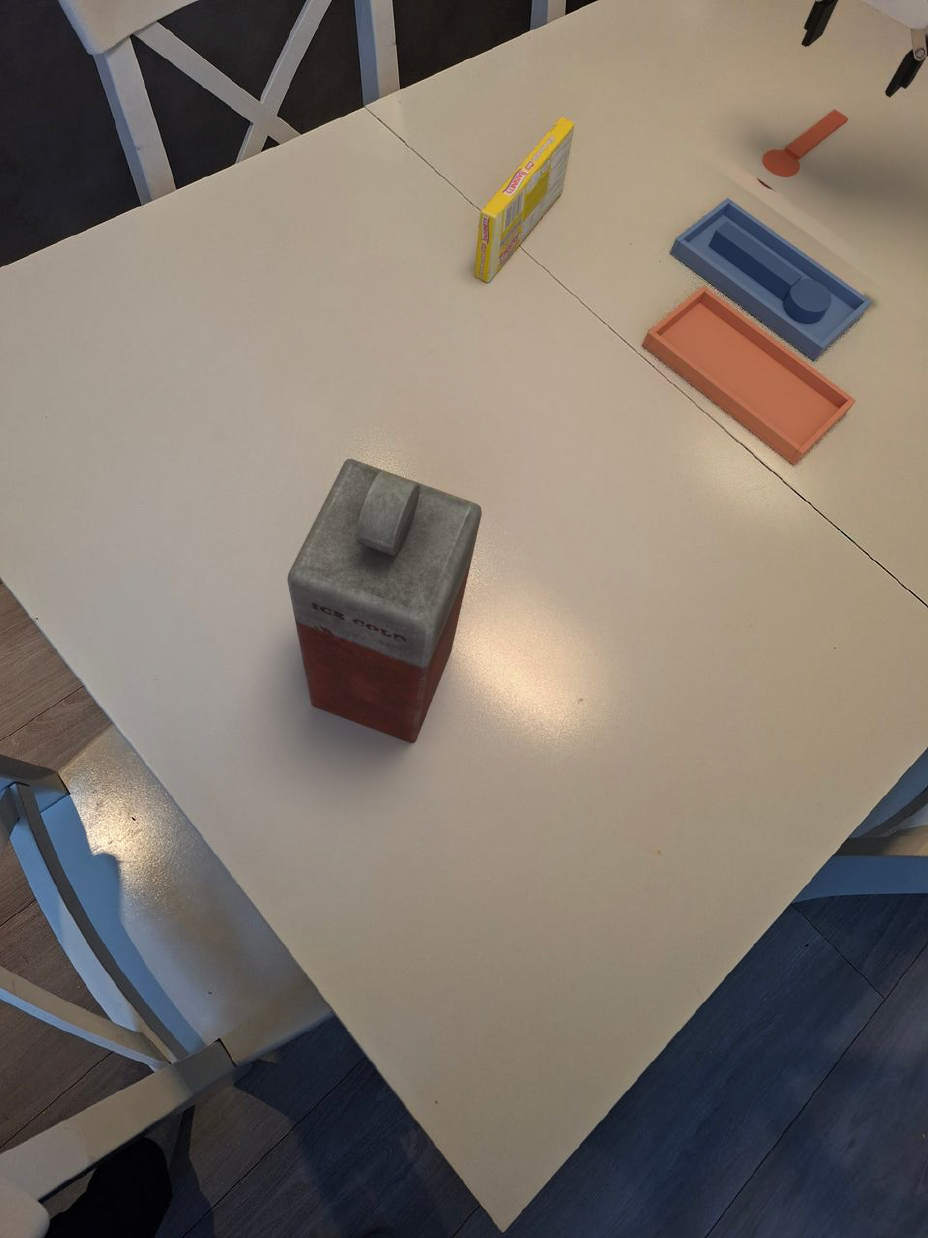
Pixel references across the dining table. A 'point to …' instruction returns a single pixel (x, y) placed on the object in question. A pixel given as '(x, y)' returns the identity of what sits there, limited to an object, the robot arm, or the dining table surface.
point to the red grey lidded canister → (381, 596)
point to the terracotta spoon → (801, 147)
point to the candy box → (523, 200)
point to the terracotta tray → (748, 374)
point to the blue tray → (757, 298)
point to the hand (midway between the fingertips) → (851, 64)
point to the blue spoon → (773, 275)
